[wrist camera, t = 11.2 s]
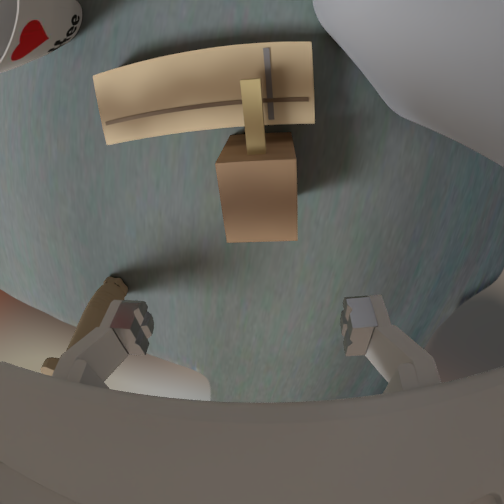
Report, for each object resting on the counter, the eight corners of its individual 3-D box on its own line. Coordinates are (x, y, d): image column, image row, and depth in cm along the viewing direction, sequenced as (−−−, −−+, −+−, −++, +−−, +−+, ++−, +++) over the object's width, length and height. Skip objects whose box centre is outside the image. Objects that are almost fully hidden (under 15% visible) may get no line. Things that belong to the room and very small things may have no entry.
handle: (100, 259, 33) (41, 361, 21) (145, 286, 35) (100, 395, 23) (91, 282, 36) (40, 376, 24) (132, 306, 38) (92, 406, 26)
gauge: (223, 77, 21) (204, 85, 15) (287, 73, 21) (292, 78, 15) (237, 198, 28) (227, 242, 22) (293, 196, 27) (297, 240, 21)
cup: (45, 76, 20) (-30, 102, 12) (24, 18, 16) (-49, 28, 8) (107, 30, 18) (30, 32, 10) (83, -32, 14) (9, -45, 6)
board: (113, 71, 21) (92, 75, 18) (306, 43, 19) (311, 41, 16) (125, 133, 24) (106, 145, 21) (309, 114, 22) (315, 124, 19)
